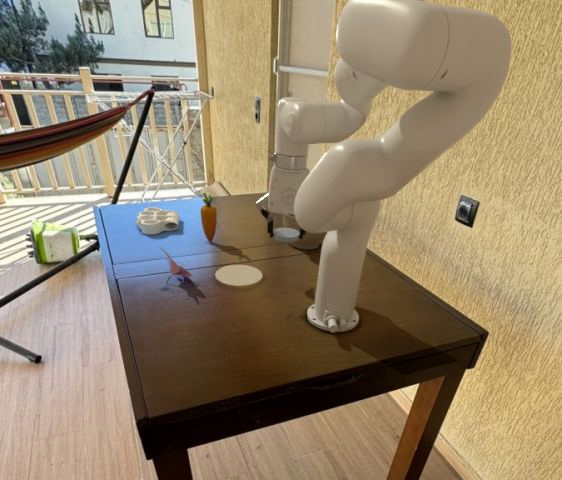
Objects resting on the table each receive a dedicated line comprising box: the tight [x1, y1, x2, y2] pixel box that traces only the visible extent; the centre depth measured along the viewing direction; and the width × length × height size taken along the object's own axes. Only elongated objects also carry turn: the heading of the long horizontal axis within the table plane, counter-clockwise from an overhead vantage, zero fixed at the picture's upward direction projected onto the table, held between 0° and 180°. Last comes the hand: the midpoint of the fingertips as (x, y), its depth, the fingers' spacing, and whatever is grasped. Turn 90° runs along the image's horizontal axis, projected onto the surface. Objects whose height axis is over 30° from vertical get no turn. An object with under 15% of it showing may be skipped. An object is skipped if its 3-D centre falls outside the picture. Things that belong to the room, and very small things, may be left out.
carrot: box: [200, 192, 218, 243], centre depth 123 cm, size 5×5×15 cm
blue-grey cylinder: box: [272, 227, 300, 243], centre depth 103 cm, size 7×7×2 cm
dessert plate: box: [214, 264, 263, 287], centre depth 108 cm, size 13×13×1 cm
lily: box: [159, 246, 194, 285], centre depth 102 cm, size 12×12×10 cm
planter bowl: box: [282, 214, 327, 251], centre depth 127 cm, size 16×16×11 cm
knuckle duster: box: [133, 206, 180, 236], centre depth 135 cm, size 3×18×15 cm
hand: (286, 236), depth 103 cm, fingers closed on blue-grey cylinder, 7 cm apart
